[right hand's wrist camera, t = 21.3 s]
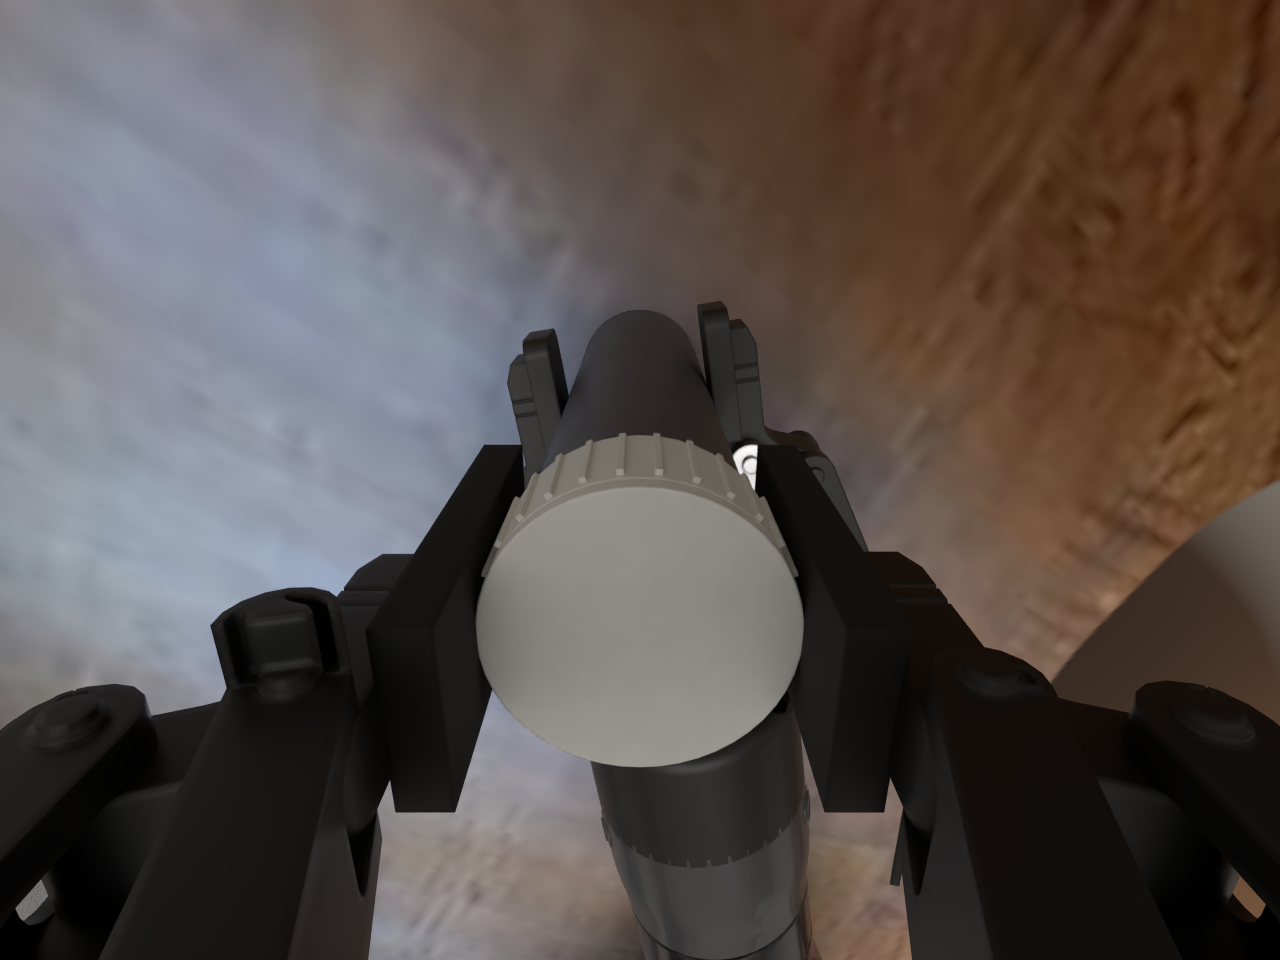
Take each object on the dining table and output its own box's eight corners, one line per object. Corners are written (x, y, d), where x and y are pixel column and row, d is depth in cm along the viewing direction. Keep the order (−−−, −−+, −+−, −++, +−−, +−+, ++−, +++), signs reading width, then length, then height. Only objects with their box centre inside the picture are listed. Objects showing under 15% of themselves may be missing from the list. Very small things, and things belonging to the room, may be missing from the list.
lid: (790, 429, 11) (825, 482, 9) (770, 679, 13) (795, 771, 11) (488, 430, 11) (453, 482, 9) (509, 679, 13) (484, 772, 11)
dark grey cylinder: (563, 383, 27) (451, 644, 11) (622, 287, 26) (593, 425, 10) (655, 440, 28) (677, 760, 12) (718, 350, 27) (836, 573, 11)
